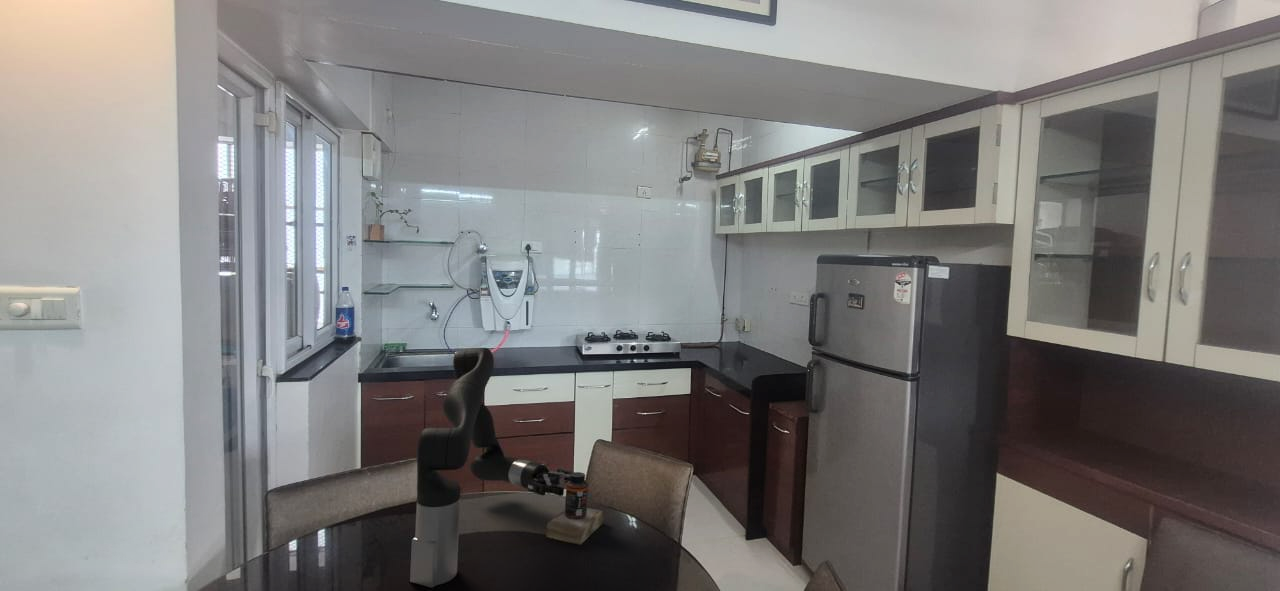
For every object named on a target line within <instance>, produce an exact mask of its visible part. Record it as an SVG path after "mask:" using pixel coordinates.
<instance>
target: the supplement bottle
mask: <svg viewBox="0 0 1280 591" xmlns="http://www.w3.org/2000/svg"><path fill="white" fill-rule="evenodd" d="M573 472H574V471H573ZM570 479H571V480H570V481H568V482H567V484H565V485H566V487H565V488H566V489H565V507H564V510H565V515H566V516H567V517H568V518H572V519H580V518H583V517H585V516H586V512H587V508H588V494H589V492H588V491H589V490H588V489H589V483H588V482H587V481H586V474H585V473H584V472H581V471H576V472H574V473H571V476H570Z"/></svg>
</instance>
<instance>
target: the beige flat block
mask: <svg viewBox="0 0 1280 591" xmlns="http://www.w3.org/2000/svg"><path fill="white" fill-rule="evenodd" d="M603 517H604V511H603V510H600V509H595V508H590V507H587V512H586V516H585V517H583V518H580V519H572V518H568V517H567V516H566V515H565V509H564V510H563V511H561V512H560V513H559V514H558V515H556V516H554V517H553V519H551V520H550V521H549V522H547V523H546V538H548V537H549V539H552V538H553V539H554V540H558V541H561V542H566V543H571V544H574V545H579V546H581V545H582V544H583V543H585V541H586V540H587V539H588V538H589V537H590V536H592V534H593V533H594V532H595V531H596V530H597V529H598V528H599V527H601V526H602V525H603V521H604V520H603Z"/></svg>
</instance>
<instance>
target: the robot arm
mask: <svg viewBox="0 0 1280 591" xmlns="http://www.w3.org/2000/svg"><path fill="white" fill-rule="evenodd" d="M494 359H495V358H494V355H493V352H492V351H491V350H490V349H489V348H488V347H475V348H468V349H467V348H466V349H460V350H457V351H456V352H455V353H454V355H453V359H452V360H453V361H452V363H453V364H452V366H453V371H454V375H455V379H456V380H455V381H454V382H453V383H452V384H451V385H450V386H449V388H448V389H447V392H446V395H445V397H444V399H443V401H442V408H443V413H444V415H445V417H446V418H447V419H448V421H449V422H450V423H451V425H452V426H453V427H427V428H424V429H422V431H421V432H420V434H419V437H418V440H417V446H416V469H417V470H416V471H417V472H416V473H417V474H416V475H417V476H416V513H415V534H414V537H413V538H412V539H411V552H410V572H409V574H410V577H409V578H410V579H409V582H411V583H414V584H418V585H421V586H425V587H428V588H430V589H431V588H434V587H436V586H438V585H442V584H445V583H446V584H447V583H449V582H450V581H452V580H453V579H454V578H455V577H456V576H457V574H458V555H459V534H460V530H459V529H460V512H461V492H462V491H461V486H460V484H459V483H458V482H456V481H454V480H452V479H450V478H446V477H445V476H443V475H441V474H440V473H439V472H438V471H457V470H460V469H462V468H463V467H465V465H466V463H467V461H468V458H469V453H470V448H471V444H472V445H473V446H474V447H475V448H479V449H480V448H481V449H482V448H484V449H485V451H484V452H483V453H481V454H479V455H477V456H475V457H474V458H473V459H472V460H471V461H470V465H469V469H470V472H471V474H472V476H474V478H476V479H477V480H478V479H479V480H481V481H487V482H488V481H489V482H490V481H491V482H493V481H494V482H499V481H503V482H506V483H509V484H512V485H514V486H516V487H520V488H523V489H525V490H527V491H529V492H531V493H534V494H537V495H540V496H546V494H547V495H556V496H559V497H562V496H564V493H565V492H564V490H565V489H564V487H563V486H564V485H567V482H568V481H570V480H571V479H570V476H571V473H574V471H570V470H566V469H562V468H558V469H557V471H550V470H549V468H548V467H547V466H546V465H545V464H542V463H538V462H534V461H531V460H526V459H519V458H516V457H511V456H506V457H505V454H504V451H503V448H502V447H501V445H500V442H499V441H498V439H497V435H496V431H495V430H496V429H495V422H494V418H493V415H492V413H491V412H490V410H489V408H488V407H487V406H486V405H485V403H484V402H483V398H484V394H485V390H486V387H487V384H488V383H489V380H490V379H491V377H492V374H493V371H494V365H495V360H494Z"/></svg>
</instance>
